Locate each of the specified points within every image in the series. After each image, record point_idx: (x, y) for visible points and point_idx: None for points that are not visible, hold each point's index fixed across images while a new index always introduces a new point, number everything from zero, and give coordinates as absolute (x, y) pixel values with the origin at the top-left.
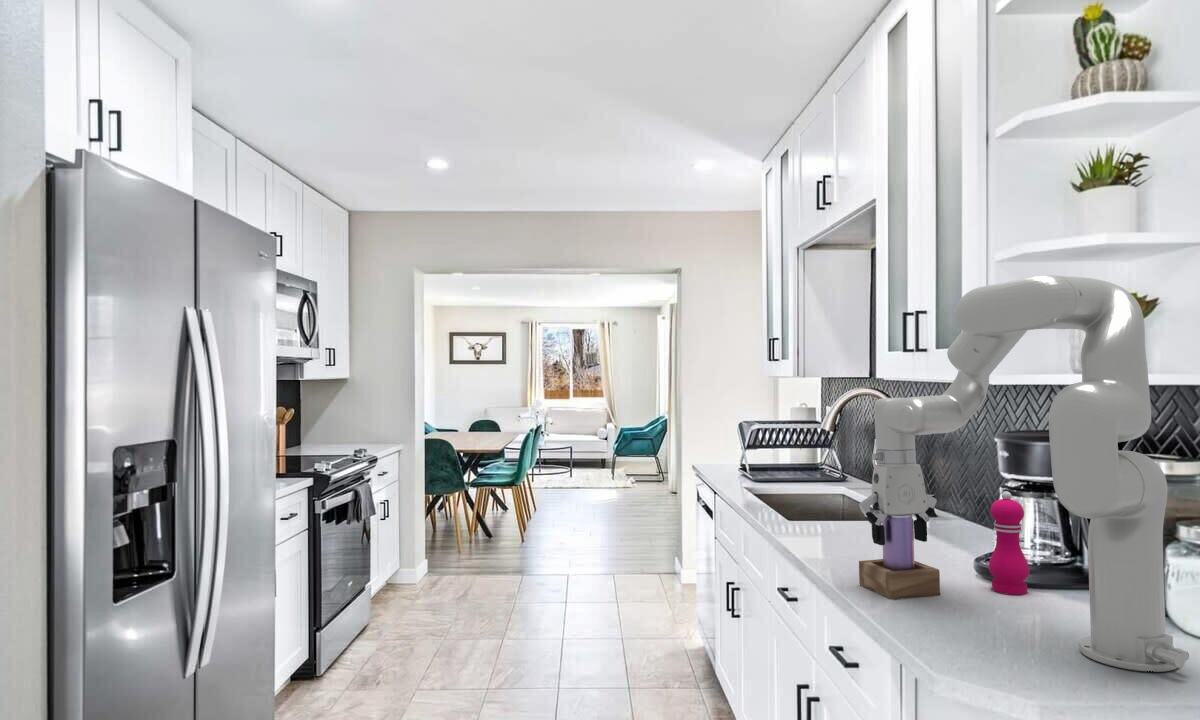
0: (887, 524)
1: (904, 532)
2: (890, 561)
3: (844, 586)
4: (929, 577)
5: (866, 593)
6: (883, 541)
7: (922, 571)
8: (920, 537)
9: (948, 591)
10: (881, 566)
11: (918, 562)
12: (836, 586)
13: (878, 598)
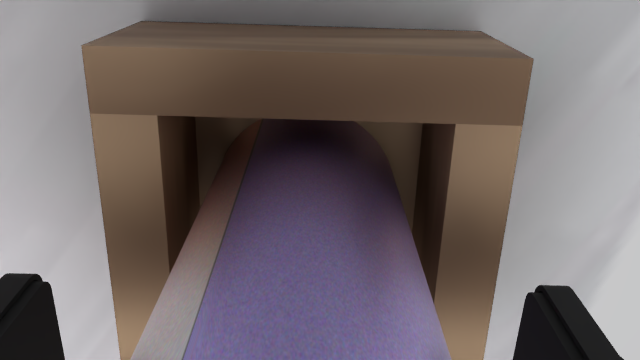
0: None
1: (328, 312)
2: (410, 230)
3: None
4: (189, 39)
5: (517, 182)
6: (567, 303)
7: (241, 50)
8: (42, 341)
9: (47, 71)
10: None
11: (115, 268)
12: None
13: None
